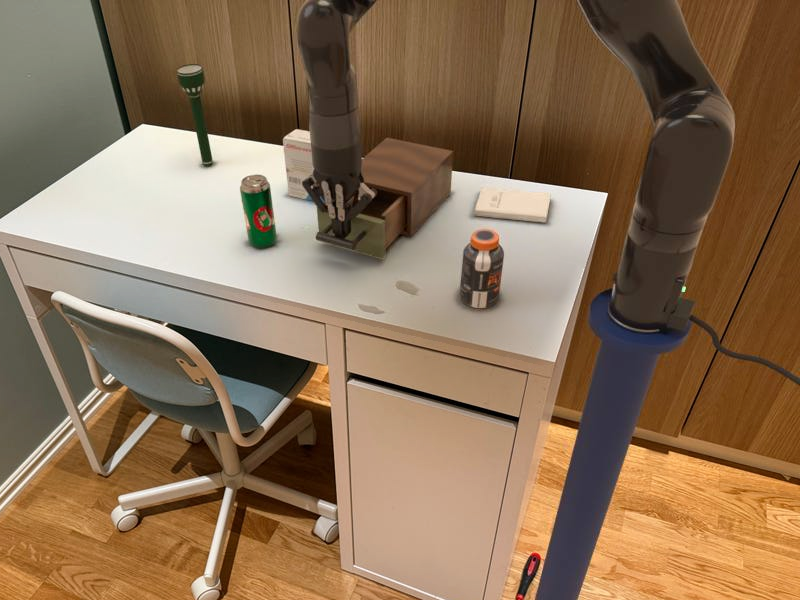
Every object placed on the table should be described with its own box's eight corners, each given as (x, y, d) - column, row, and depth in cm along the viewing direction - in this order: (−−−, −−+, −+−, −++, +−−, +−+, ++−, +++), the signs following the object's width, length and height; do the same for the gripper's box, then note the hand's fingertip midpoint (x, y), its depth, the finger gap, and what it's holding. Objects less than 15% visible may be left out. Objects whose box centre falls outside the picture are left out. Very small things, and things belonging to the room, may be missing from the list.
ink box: (338, 192, 138) (334, 134, 130) (325, 204, 134) (321, 145, 127) (300, 183, 141) (295, 126, 133) (287, 195, 138) (280, 137, 130)
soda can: (252, 233, 129) (242, 173, 121) (279, 234, 128) (271, 173, 120) (246, 249, 125) (235, 188, 117) (274, 249, 124) (265, 188, 116)
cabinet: (410, 237, 124) (411, 193, 118) (344, 219, 130) (341, 176, 124) (450, 193, 134) (453, 150, 128) (387, 178, 140) (386, 137, 134)
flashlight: (220, 157, 152) (203, 62, 139) (219, 169, 148) (202, 72, 135) (196, 160, 152) (177, 65, 139) (195, 171, 148) (175, 75, 135)
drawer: (367, 274, 115) (366, 239, 111) (304, 255, 121) (300, 220, 116) (423, 214, 128) (424, 180, 123) (363, 199, 133) (362, 166, 128)
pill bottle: (491, 313, 107) (498, 250, 100) (453, 303, 110) (458, 241, 102) (503, 291, 111) (511, 229, 103) (467, 282, 113) (472, 220, 106)
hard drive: (545, 224, 124) (474, 216, 128) (550, 200, 130) (481, 193, 133) (547, 216, 123) (474, 208, 127) (551, 192, 129) (482, 186, 132)
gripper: (387, 133, 105) (388, 234, 116) (311, 118, 110) (320, 216, 122) (361, 155, 100) (366, 258, 112) (284, 138, 106) (296, 238, 117)
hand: (342, 236), depth 117 cm, fingers closed
